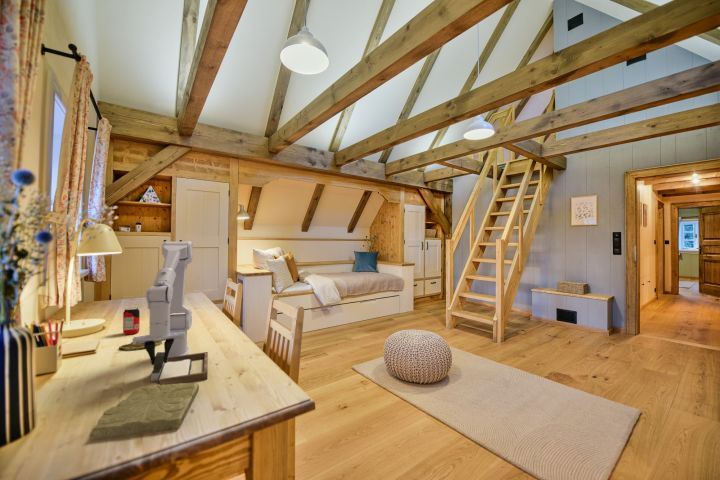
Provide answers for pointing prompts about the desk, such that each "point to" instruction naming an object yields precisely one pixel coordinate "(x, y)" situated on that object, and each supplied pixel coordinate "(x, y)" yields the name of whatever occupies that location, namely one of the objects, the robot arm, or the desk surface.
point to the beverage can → (131, 321)
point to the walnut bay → (191, 376)
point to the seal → (136, 346)
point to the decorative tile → (147, 411)
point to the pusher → (158, 366)
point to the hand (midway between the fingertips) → (159, 362)
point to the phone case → (175, 369)
